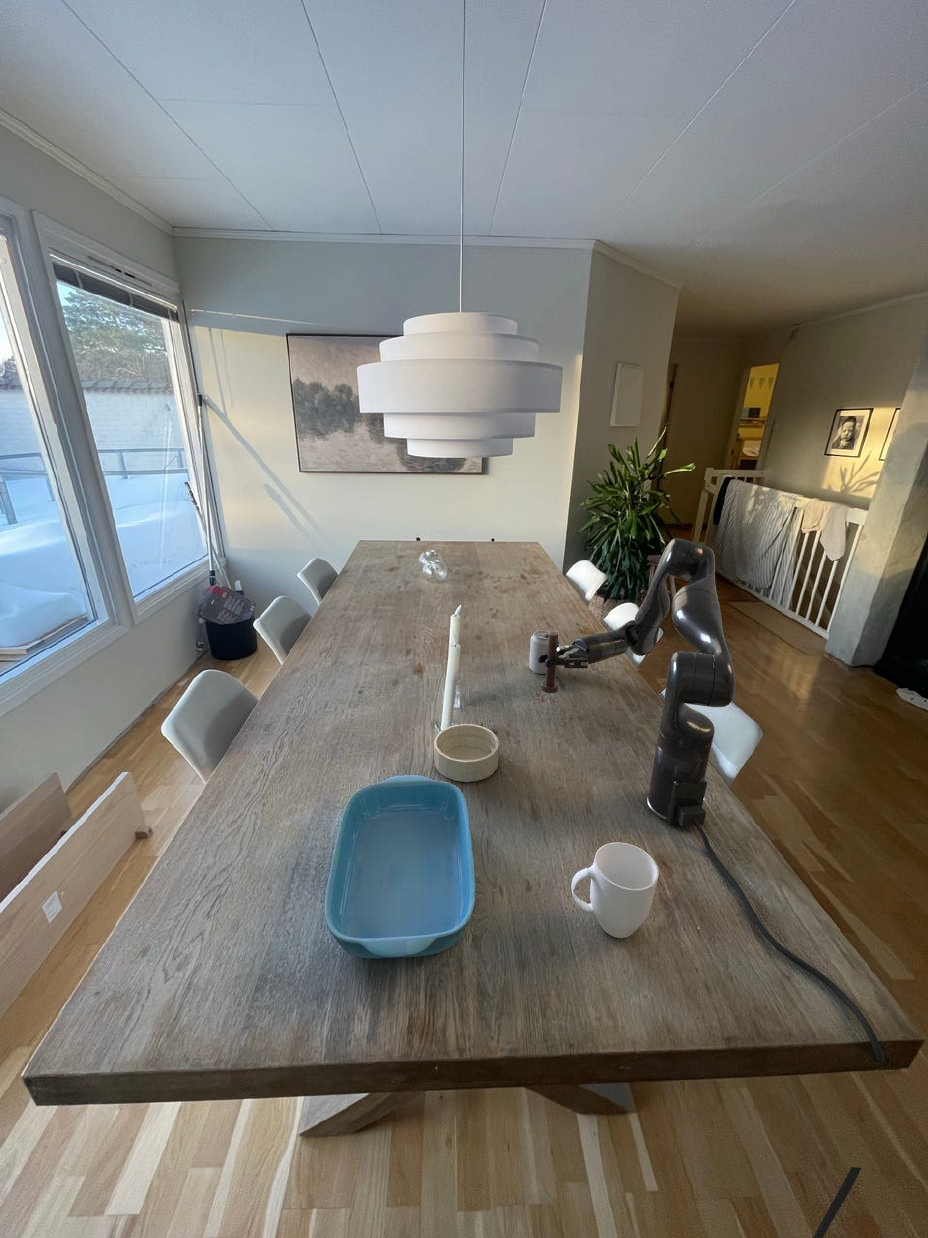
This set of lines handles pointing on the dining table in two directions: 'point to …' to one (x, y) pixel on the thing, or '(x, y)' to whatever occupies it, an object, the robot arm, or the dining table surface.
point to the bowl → (466, 752)
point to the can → (538, 651)
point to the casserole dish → (401, 870)
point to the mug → (619, 887)
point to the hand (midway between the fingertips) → (542, 661)
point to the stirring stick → (550, 683)
